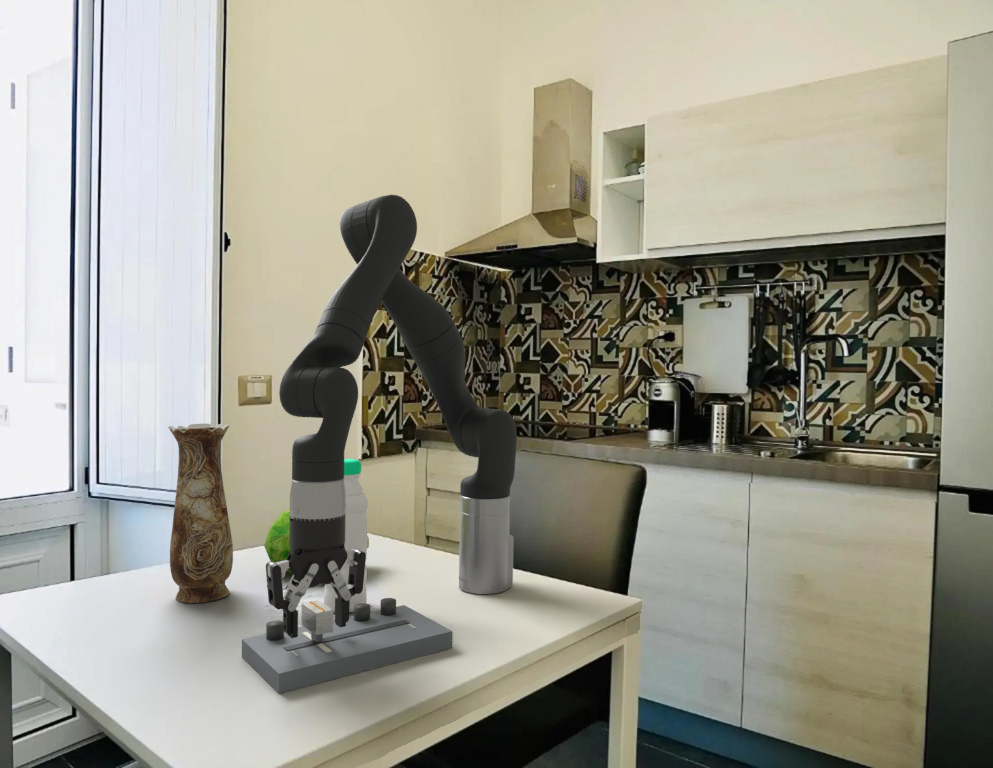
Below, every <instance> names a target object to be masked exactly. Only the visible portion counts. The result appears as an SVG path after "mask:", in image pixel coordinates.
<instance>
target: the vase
mask: <svg viewBox="0 0 993 768" xmlns="http://www.w3.org/2000/svg"><path fill="white" fill-rule="evenodd" d="M229 427H230V424H224V425H223V424H222V423H219V424H216V425H212V424H211V423H193V424H189V425H188V426H187V427H186V426H183V425H177V427H174V426H170V425H169V426H167V428H168V429H169V432H170V433H171V434H172V436H173V437H174V439H175V440H176V442H177V446H178V447H177V448H178V464H177V465H178V468H177V469H178V470H177V480H176V481H177V482H176V492H175V501H174V511H173V517H172V527H171V535H170V544H169V568H170V574H171V578H172V580H173V582H174V583H175V584H176V585H177V586H178V592H177V593H176V595H175V600H176V601H178V602H180V603H186V604H196V603H197V604H200V603H209V602H213V601H216V600H220V599H223V598H225V597H227V596H229V595H230V590H229V588H228V587H227V585H226V581H228V579H229V577H230V576H231V573H232V570H233V564H234V550H233V549H234V546H233V545H234V544H233V536H232V530H231V527H230V519H229V514H228V512H229V511H228V506H227V500H226V495H225V487H224V481H223V474H222V473H223V472H222V464H221V463H222V462H221V453H220V452H221V451H220V450H221V448H220V447H221V443H222V440H223V438H224V437H225V435H226V433H227V431H228V429H229Z"/></svg>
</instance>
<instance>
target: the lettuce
mask: <svg viewBox="0 0 993 768" xmlns="http://www.w3.org/2000/svg"><path fill="white" fill-rule="evenodd" d="M289 532H290V509H287V510H285V511H284V512H282V513H280V515H279V516H278V517H277V518H276V519H275V521H274V522H273V524H272V525H271V526H270V527H269V530H268V533H267V536H266V539H265V542H264V545H263V546H264V549H265V552H266V554H267V556H268V559H269V561H272V562H274V563H276V562H280V561H284V560H286V559H287V557H288V555H289V552H290V545H289ZM369 547H370V538H369V535H367V550H368V549H369ZM286 572H288V573H290V574H292V575H293V573H292V572H291V571H290V570H289V568H288V569H287V570H286Z"/></svg>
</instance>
